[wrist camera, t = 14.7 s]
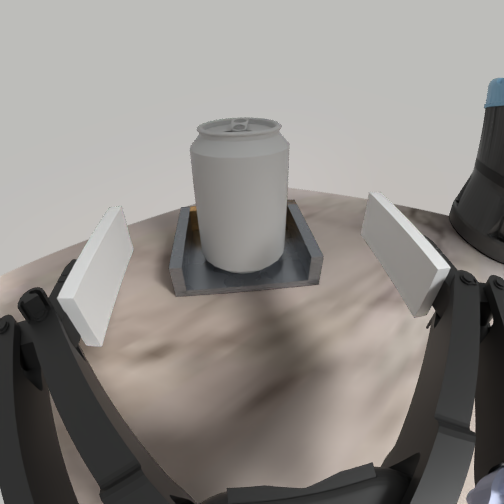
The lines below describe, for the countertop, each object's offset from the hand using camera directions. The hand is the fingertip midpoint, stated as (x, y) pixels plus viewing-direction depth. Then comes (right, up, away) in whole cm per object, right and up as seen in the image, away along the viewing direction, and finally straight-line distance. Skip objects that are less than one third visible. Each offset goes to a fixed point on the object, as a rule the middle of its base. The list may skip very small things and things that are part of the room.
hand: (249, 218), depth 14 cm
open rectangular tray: (-1, -2, +13) cm, 13 cm away
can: (-1, -2, +12) cm, 12 cm away
